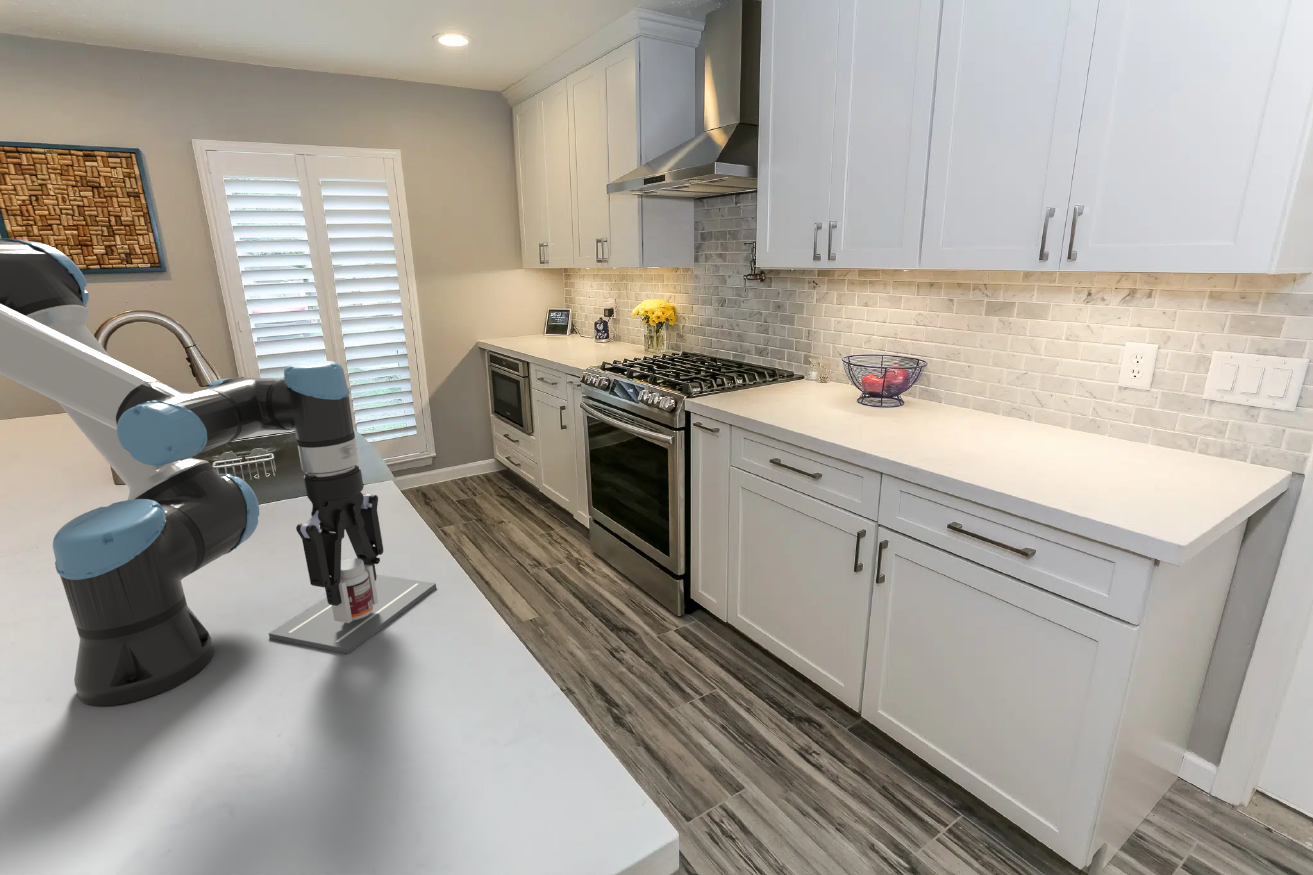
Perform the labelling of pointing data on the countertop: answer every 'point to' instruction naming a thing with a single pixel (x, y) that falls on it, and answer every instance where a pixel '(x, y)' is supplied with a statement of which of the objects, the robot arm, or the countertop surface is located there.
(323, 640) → the slate
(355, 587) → the pill bottle
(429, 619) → the countertop surface
